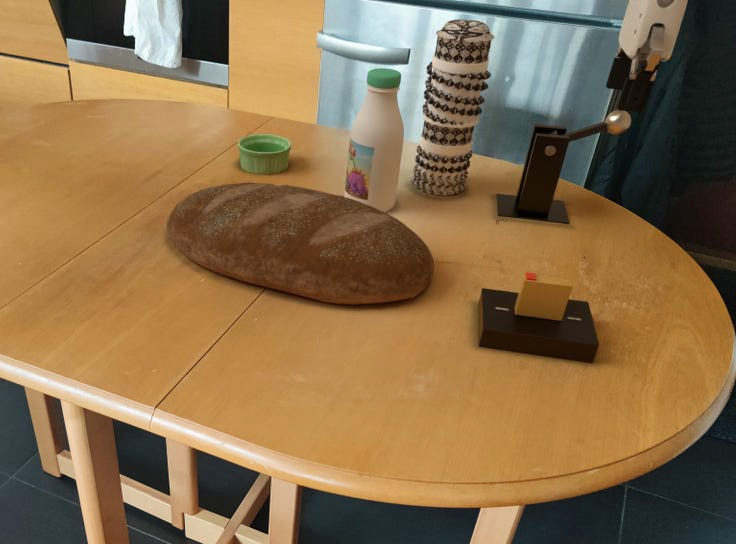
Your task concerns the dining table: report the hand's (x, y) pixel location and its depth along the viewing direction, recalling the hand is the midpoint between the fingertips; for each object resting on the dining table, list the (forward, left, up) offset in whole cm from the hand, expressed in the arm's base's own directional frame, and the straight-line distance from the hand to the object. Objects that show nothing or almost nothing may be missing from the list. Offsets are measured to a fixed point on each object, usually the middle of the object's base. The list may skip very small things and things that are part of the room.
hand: (623, 99), depth 96 cm
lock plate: (+10, +34, -18) cm, 40 cm away
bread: (+40, +23, -18) cm, 50 cm away
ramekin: (+51, -7, -18) cm, 54 cm away
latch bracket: (+8, 0, -18) cm, 20 cm away
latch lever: (+3, 0, -6) cm, 7 cm away
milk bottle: (+32, +4, -18) cm, 37 cm away
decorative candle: (+22, -5, -18) cm, 29 cm away
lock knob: (+10, +34, -15) cm, 39 cm away
